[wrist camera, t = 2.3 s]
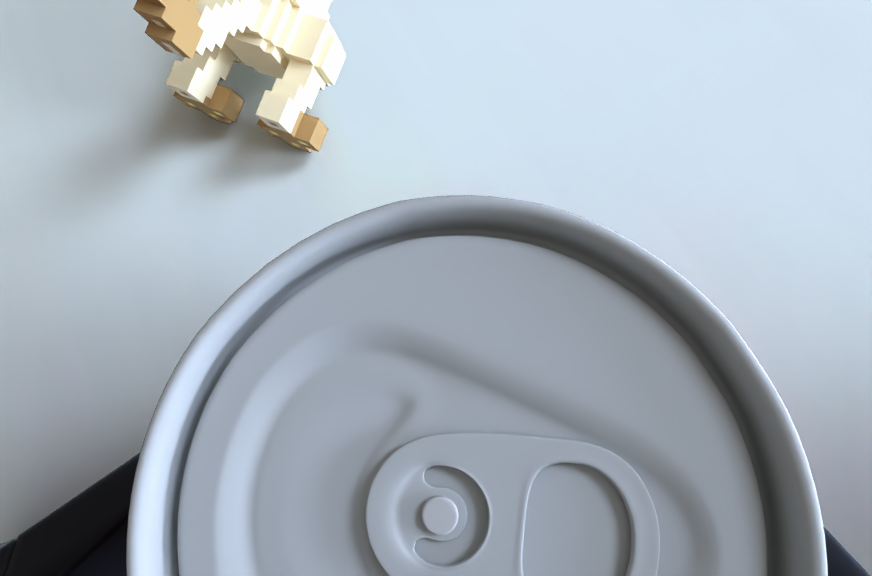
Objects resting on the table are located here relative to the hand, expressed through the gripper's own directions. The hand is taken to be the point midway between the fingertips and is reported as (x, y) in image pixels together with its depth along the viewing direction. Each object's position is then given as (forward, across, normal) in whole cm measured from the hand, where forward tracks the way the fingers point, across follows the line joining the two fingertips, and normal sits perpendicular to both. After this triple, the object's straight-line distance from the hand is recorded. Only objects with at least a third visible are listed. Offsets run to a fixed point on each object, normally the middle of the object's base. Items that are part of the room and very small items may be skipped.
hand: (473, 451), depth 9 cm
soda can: (+6, 0, +6) cm, 8 cm away
